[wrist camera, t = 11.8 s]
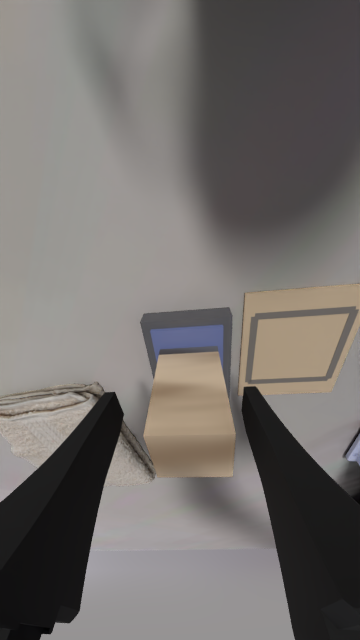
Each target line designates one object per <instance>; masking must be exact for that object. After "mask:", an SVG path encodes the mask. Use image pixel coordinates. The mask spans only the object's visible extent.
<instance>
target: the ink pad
mask: <svg viewBox="0 0 360 640" xmlns="http://www.w3.org/2000/svg"><path fill="white" fill-rule="evenodd" d="M140 323H141V328H142V332H143V336H144V340H145V344H146V348H147V353H148V357H149V361H150V365H151V369H152V374H153V378H154V377H155V372H156V367H157V361H158V356H159V351H160V349H173V348H189V347H206V346H218V351H219V356H220V361H221V366H222V371H223V375H224V380H225V385H226V390H227V395H228V398H229V392H230V366H231V339H232V314H231V311H230V309H229V307H228V308H215V309H202V310H188V311H175V312H161V313H148V314H144V315H143V317H142V320H141V322H140Z"/></svg>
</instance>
